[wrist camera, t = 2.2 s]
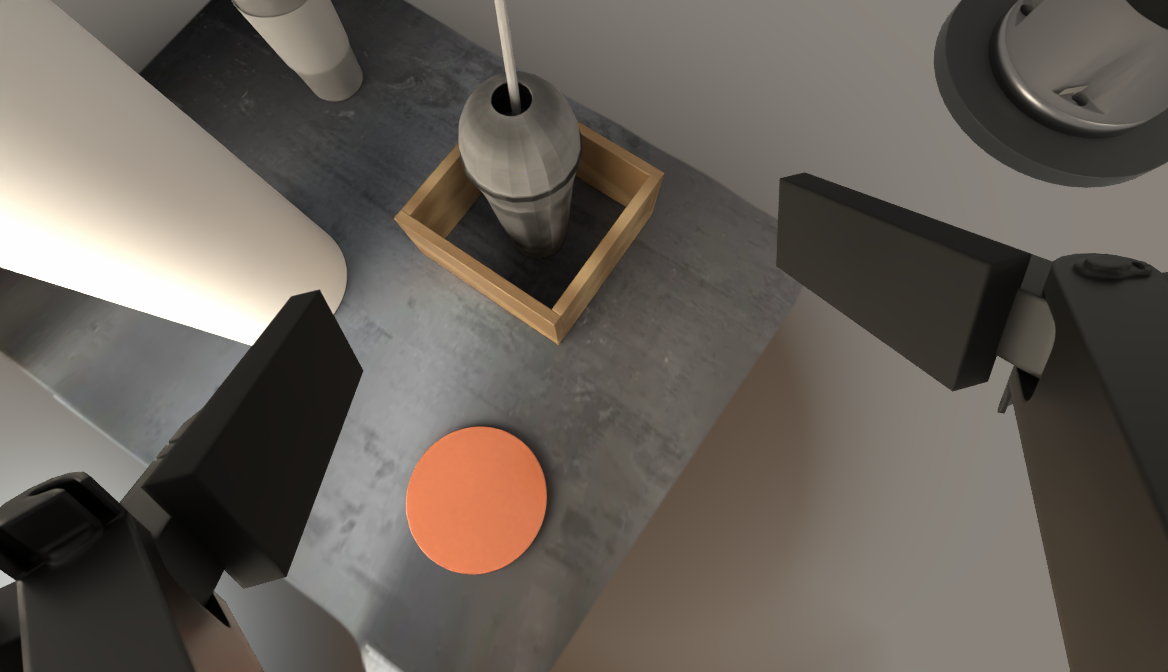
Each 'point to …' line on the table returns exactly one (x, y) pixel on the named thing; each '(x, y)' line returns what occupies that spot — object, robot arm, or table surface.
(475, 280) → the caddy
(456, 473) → the coaster
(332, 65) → the cup
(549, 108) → the beverage cup
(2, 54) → the tall pillar cylinder
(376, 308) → the table surface
